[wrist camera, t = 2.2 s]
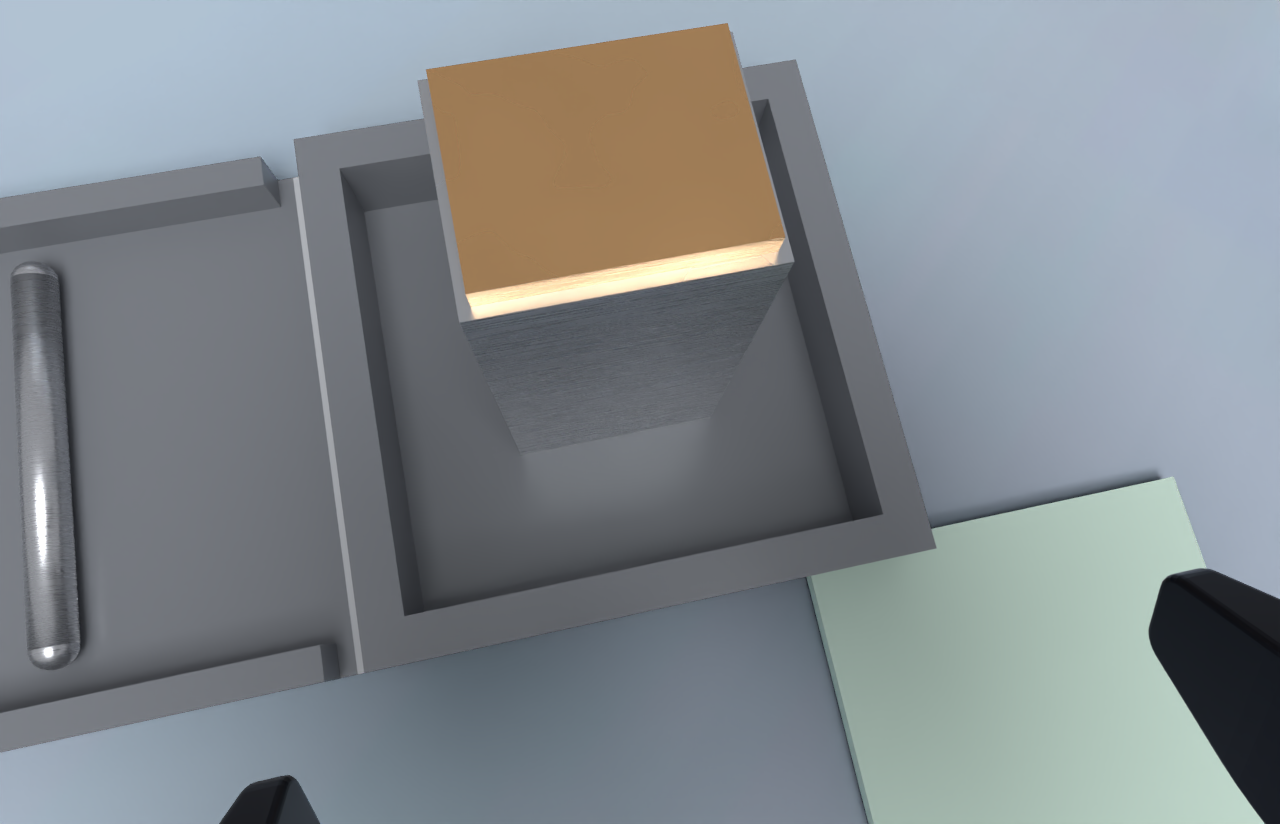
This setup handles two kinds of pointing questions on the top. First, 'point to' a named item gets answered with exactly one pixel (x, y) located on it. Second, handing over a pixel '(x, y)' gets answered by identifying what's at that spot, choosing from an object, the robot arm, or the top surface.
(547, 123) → the block
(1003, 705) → the mat
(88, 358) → the grey compartment tray
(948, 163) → the top surface
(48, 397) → the rod
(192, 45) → the top surface
